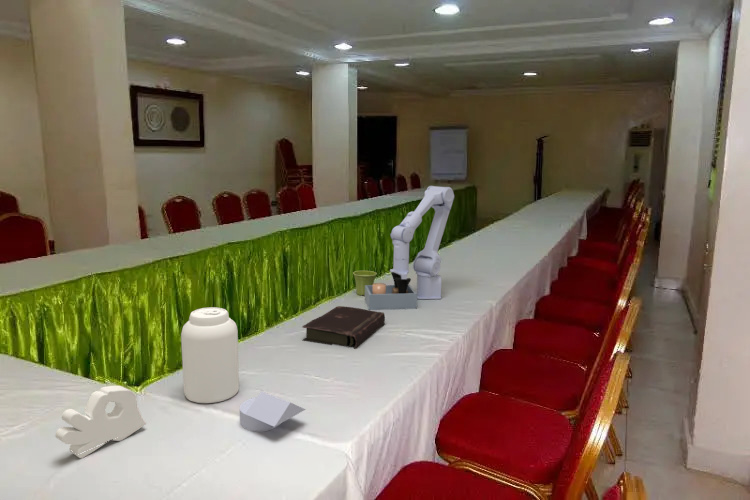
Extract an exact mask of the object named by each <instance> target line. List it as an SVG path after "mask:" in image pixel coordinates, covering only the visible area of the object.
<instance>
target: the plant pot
mask: <svg viewBox="0 0 750 500" xmlns="http://www.w3.org/2000/svg"><path fill="white" fill-rule="evenodd" d="M352 274H353V276H354V280H355V282H354V283H355V290H356V295H359V296H365V285H373V284H374V283H375V279H376V276H377V274H378V273H377V272H375V271H371V270H356V271H353V273H352Z"/></svg>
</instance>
